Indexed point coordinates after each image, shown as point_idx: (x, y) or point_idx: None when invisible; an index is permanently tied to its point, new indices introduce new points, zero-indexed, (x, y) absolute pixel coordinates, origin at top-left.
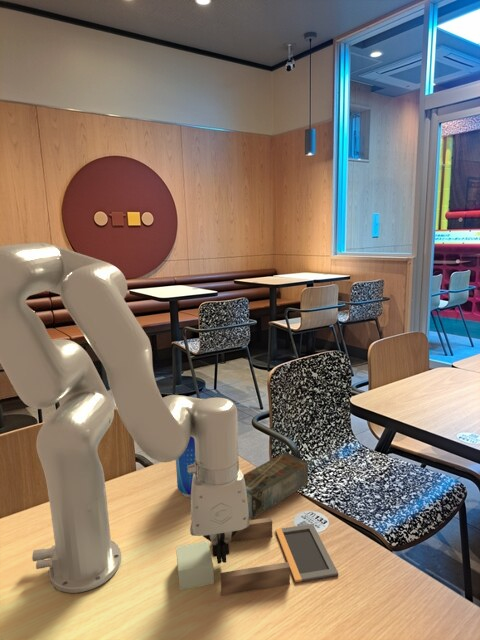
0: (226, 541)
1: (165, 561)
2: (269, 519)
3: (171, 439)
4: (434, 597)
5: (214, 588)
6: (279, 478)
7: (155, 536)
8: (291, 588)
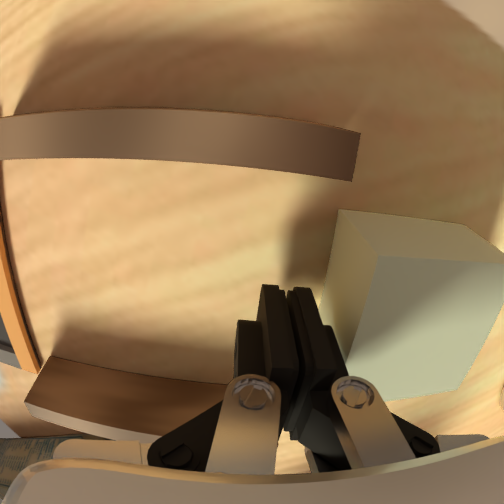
0: (260, 387)
1: None
2: (34, 412)
3: None
4: None
5: None
6: None
7: (417, 426)
8: (13, 93)
